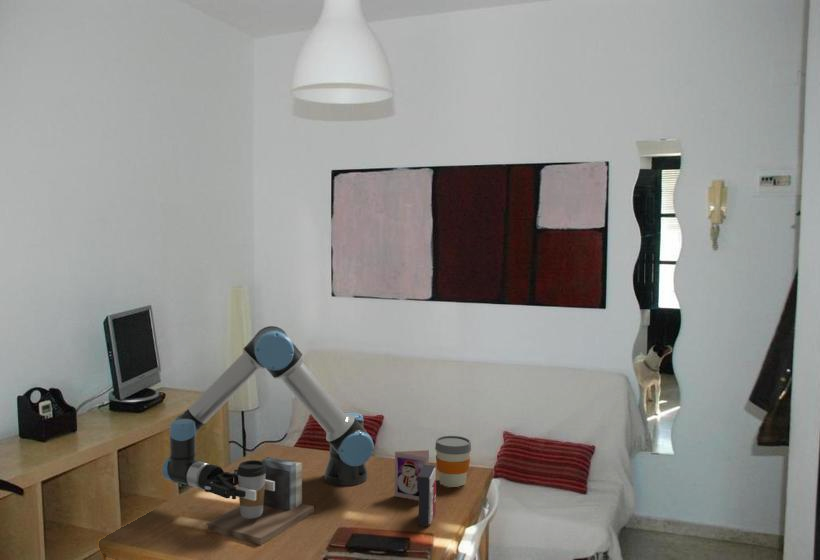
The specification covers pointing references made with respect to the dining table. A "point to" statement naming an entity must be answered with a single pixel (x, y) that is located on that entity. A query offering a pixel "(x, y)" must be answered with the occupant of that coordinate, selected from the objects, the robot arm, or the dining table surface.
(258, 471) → the coffee cup
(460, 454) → the reusable coffee cup
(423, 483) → the dark grey box
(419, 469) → the greeting card
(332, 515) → the dining table surface
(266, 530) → the block on wooden base
